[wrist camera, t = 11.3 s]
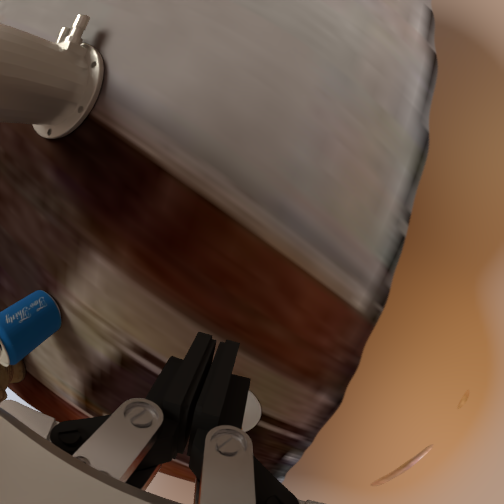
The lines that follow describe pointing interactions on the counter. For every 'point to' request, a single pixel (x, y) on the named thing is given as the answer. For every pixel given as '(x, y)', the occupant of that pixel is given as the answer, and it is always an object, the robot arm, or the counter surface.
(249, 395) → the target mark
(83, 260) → the counter surface
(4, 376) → the ceramic vessel
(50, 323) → the beverage can
